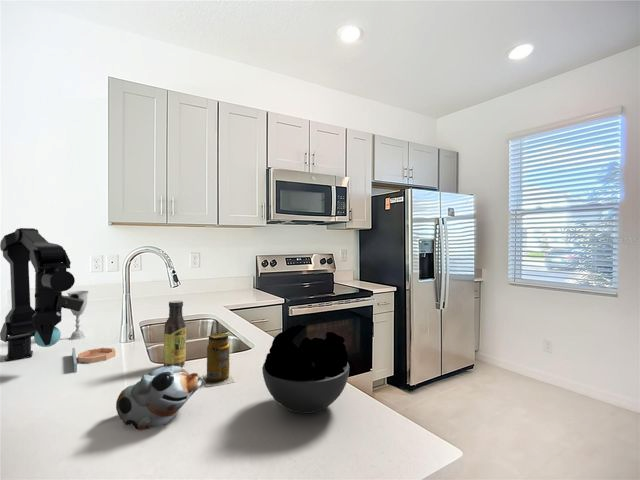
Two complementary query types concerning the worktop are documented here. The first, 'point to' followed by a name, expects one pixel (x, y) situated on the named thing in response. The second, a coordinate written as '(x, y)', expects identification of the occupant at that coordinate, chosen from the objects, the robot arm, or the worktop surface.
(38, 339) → the ball
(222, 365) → the condiment
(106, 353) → the saucer
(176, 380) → the lucky cat figurine
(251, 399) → the worktop surface
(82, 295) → the chalice
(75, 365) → the low wall
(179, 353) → the sauce bottle
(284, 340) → the coal bowl
